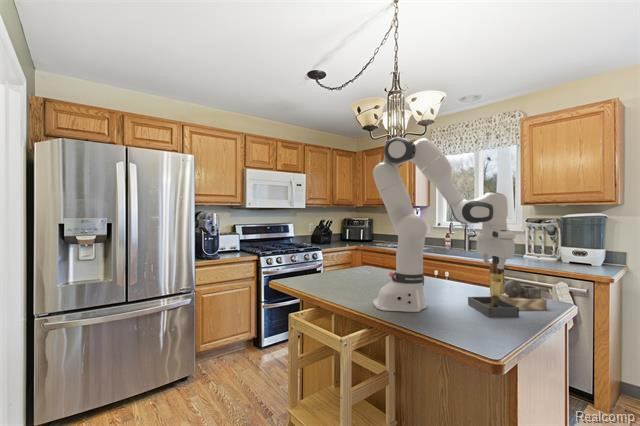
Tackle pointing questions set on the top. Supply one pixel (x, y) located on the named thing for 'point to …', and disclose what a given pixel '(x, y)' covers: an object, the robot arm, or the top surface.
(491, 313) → the tray
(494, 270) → the sauce bottle
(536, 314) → the top surface
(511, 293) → the block
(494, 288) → the pin
